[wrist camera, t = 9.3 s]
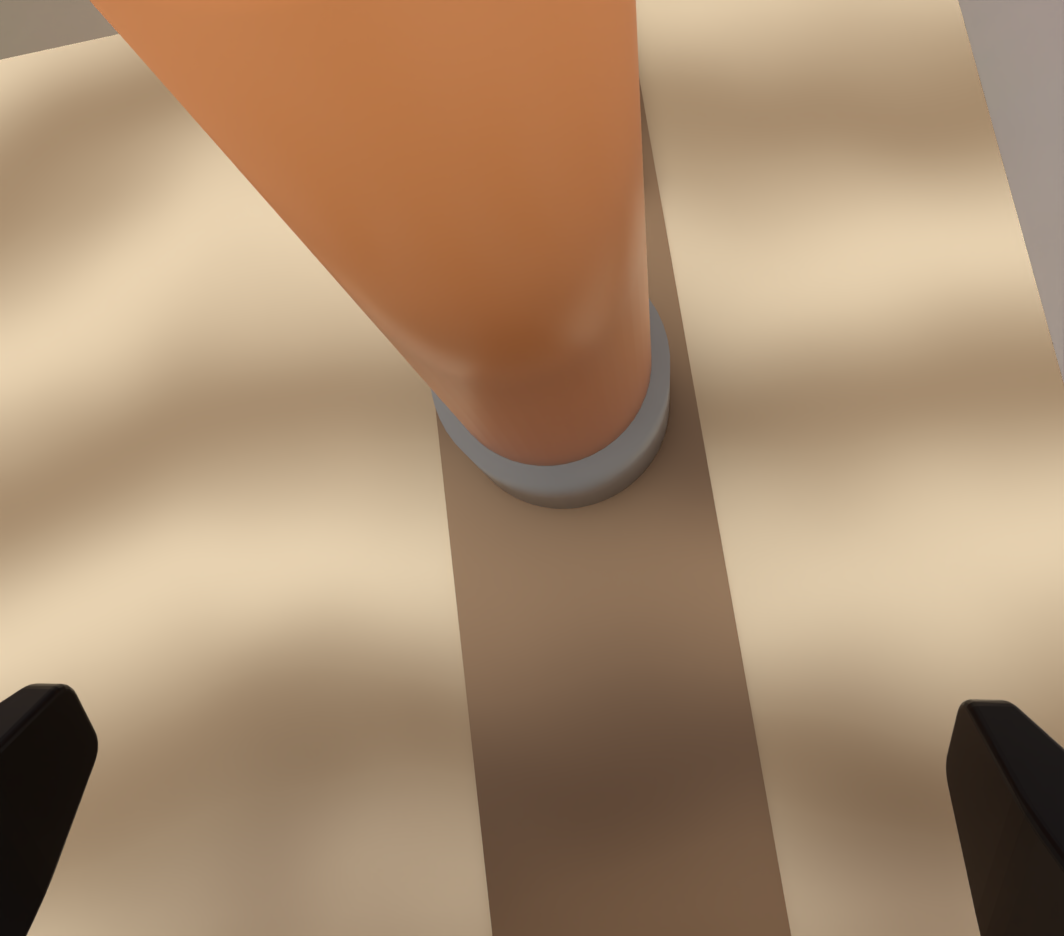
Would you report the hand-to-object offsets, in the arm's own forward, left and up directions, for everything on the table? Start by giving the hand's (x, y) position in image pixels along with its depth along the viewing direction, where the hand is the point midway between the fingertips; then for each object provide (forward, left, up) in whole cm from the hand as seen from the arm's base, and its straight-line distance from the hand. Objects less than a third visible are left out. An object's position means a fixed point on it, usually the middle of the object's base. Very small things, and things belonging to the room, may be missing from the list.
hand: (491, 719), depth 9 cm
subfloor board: (+5, +2, -9) cm, 11 cm away
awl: (+5, -1, -7) cm, 9 cm away
